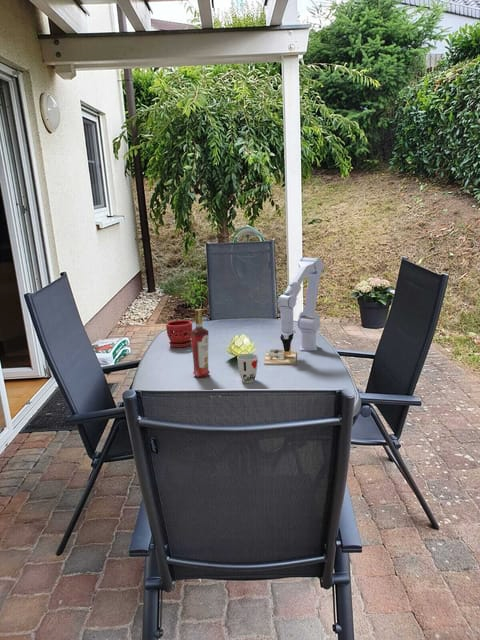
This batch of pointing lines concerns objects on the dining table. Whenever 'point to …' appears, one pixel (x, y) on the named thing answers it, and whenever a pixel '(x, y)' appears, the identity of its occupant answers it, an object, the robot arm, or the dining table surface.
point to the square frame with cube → (279, 351)
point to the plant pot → (179, 333)
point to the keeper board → (280, 359)
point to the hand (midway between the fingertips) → (287, 350)
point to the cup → (247, 367)
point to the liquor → (200, 347)
